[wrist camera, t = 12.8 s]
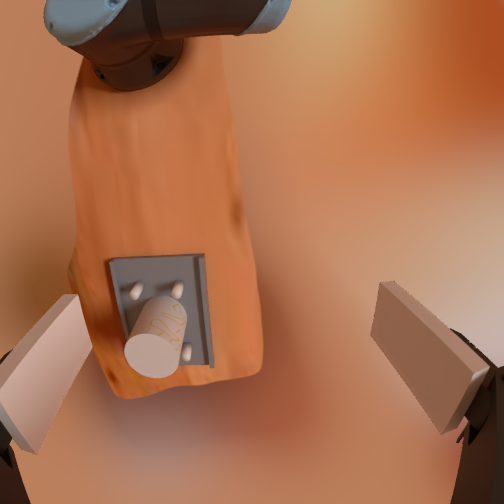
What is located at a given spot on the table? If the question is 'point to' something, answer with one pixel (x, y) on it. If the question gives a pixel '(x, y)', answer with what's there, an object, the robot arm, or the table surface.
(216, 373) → the table surface
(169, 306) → the cup
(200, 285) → the tray
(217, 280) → the table surface
